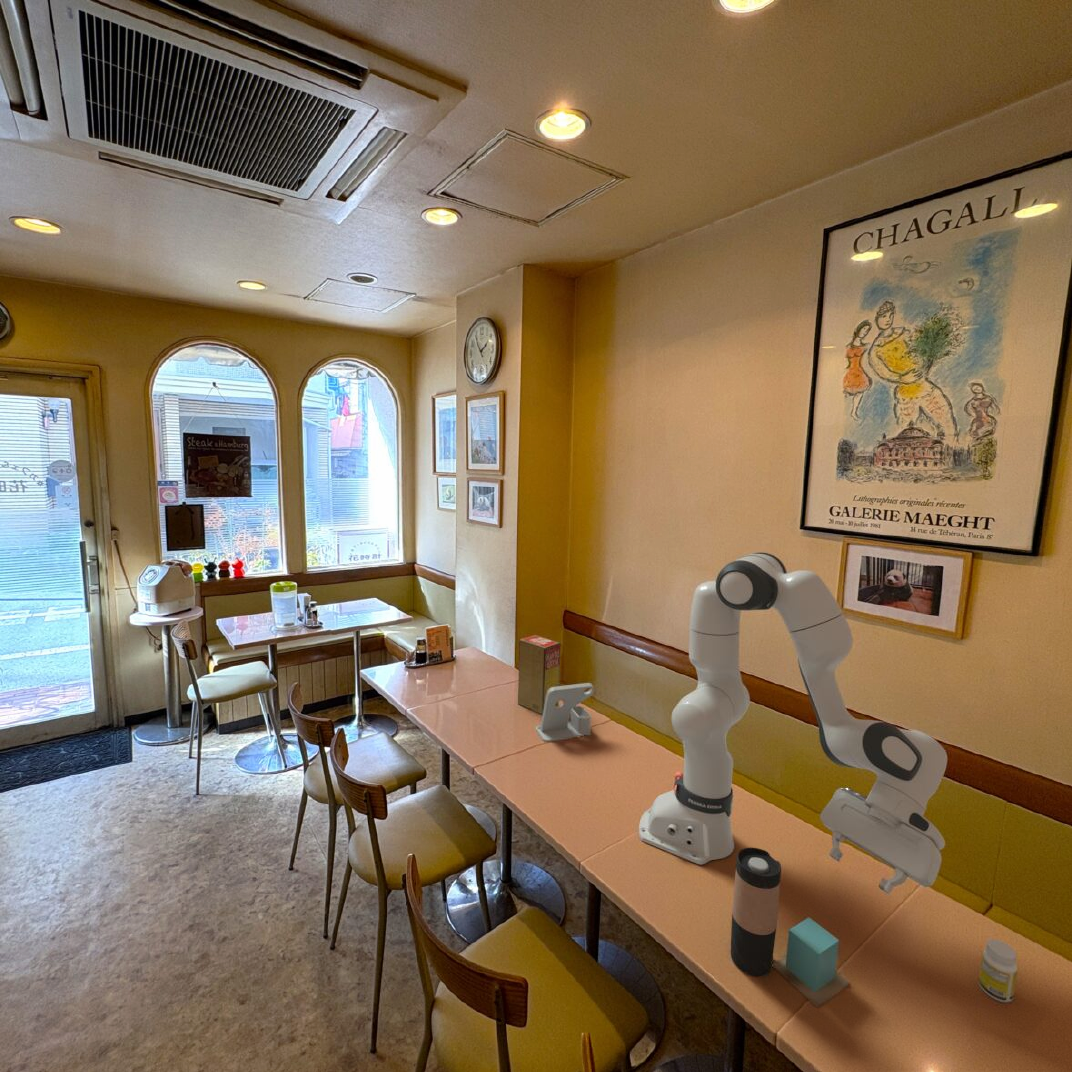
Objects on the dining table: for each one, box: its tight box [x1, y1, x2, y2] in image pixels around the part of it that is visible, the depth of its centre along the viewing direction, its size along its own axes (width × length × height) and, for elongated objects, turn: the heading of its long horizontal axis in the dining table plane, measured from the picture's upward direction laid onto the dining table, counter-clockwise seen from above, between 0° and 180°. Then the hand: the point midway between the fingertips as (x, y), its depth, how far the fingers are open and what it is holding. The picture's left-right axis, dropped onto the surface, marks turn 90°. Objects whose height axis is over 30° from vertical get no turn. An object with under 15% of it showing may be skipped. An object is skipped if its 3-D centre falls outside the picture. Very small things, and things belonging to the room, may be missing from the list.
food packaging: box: [517, 634, 562, 716], centre depth 208 cm, size 13×9×25 cm
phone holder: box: [535, 682, 595, 743], centre depth 189 cm, size 17×10×18 cm, turn 109°
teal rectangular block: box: [786, 917, 840, 993], centre depth 101 cm, size 6×6×8 cm
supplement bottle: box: [978, 938, 1019, 1003], centre depth 99 cm, size 5×5×8 cm
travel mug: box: [730, 847, 782, 978], centre depth 103 cm, size 8×8×20 cm
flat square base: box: [771, 954, 850, 1008], centre depth 101 cm, size 9×9×6 cm
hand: (857, 873), depth 106 cm, fingers open, 8 cm apart
